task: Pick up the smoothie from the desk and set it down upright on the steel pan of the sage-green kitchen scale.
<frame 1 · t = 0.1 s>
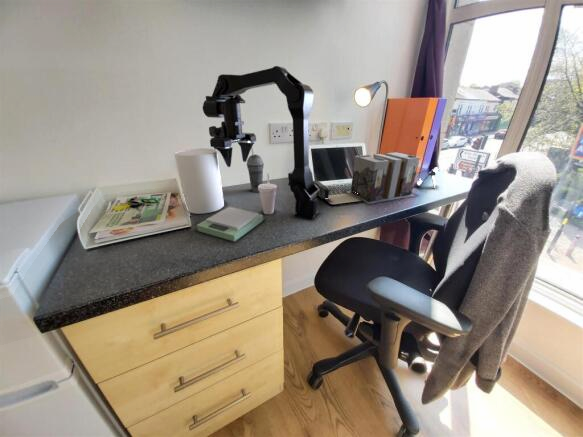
hand: (237, 164, 87), 15 cm above the table, tool pointing down, fingers open, 9 cm apart
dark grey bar: (320, 196, 99), on the table
bookend: (379, 193, 102), on the table
scale: (231, 225, 75), on the table
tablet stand: (425, 186, 111), on the table
smoothie: (268, 212, 84), on the table
canister: (205, 206, 89), on the table
beverage cup: (256, 190, 105), on the table
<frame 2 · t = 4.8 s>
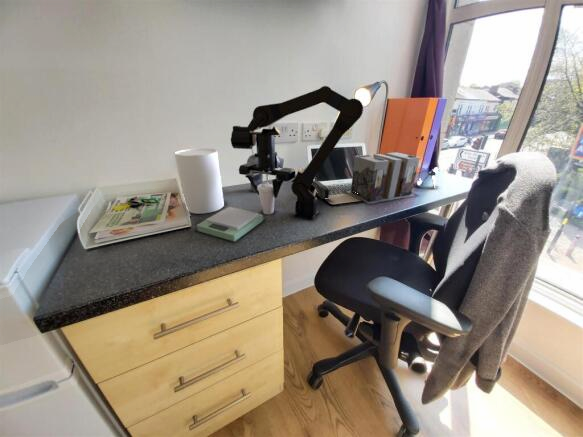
hand: (267, 196, 81), 6 cm above the table, tool pointing down, fingers closed on smoothie, 6 cm apart
smoothie: (268, 212, 84), on the table, touching gripper
everything else where it was.
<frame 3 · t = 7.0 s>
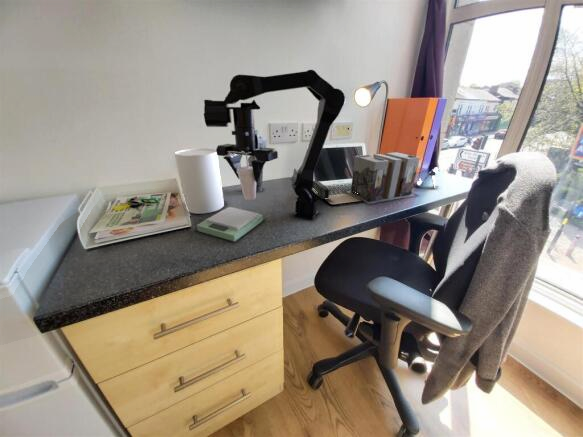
hand: (248, 180, 74), 13 cm above the table, tool pointing down, fingers closed on smoothie, 6 cm apart
smoothie: (250, 198, 76), point 7 cm above the table, touching gripper
everything else where it was.
when the fingers open (9 cm above the table, at t = 9.3 s): smoothie stays where it is, resting on scale.
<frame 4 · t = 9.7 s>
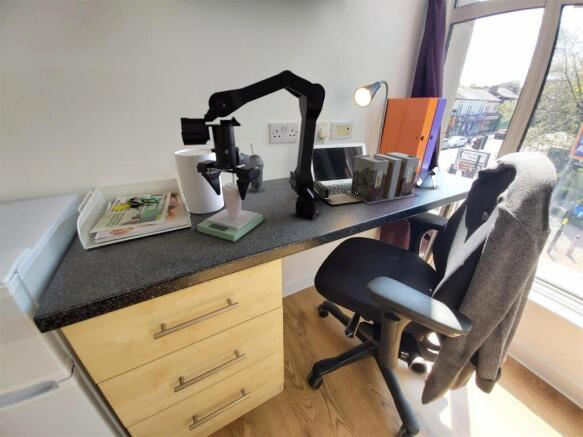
hand: (230, 197, 71), 9 cm above the table, tool pointing down, fingers open, 9 cm apart
smoothie: (234, 216, 74), point 3 cm above the table, touching scale
everything else where it was.
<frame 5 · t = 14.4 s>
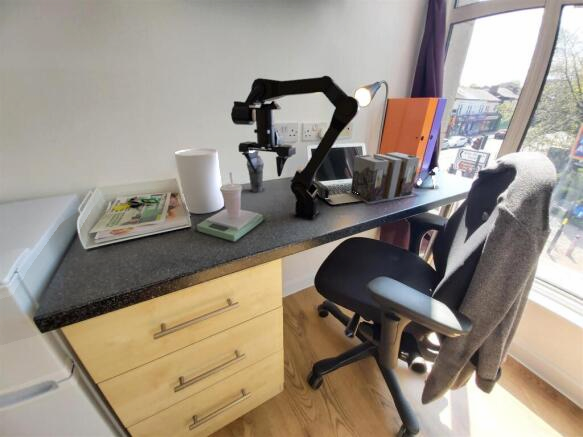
hand: (267, 174, 80), 13 cm above the table, tool pointing down, fingers open, 9 cm apart
nothing on the table moved.
at the end: smoothie inside the target area on the scale (0.4 cm from its centre), point 2.6 cm above the scale's base; smoothie tilted 0°; the gripper is holding nothing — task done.
